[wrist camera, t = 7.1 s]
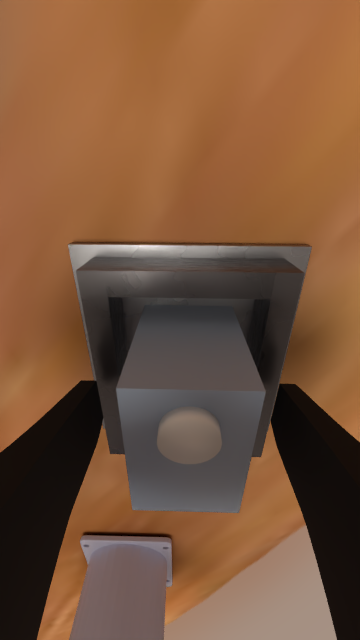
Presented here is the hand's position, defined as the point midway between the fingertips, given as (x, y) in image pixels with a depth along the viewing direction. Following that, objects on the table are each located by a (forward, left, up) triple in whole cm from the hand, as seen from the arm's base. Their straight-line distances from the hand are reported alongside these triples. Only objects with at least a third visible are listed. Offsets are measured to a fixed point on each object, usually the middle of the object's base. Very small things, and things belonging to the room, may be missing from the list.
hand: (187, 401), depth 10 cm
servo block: (0, 0, -3) cm, 3 cm away
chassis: (0, 0, -4) cm, 4 cm away
